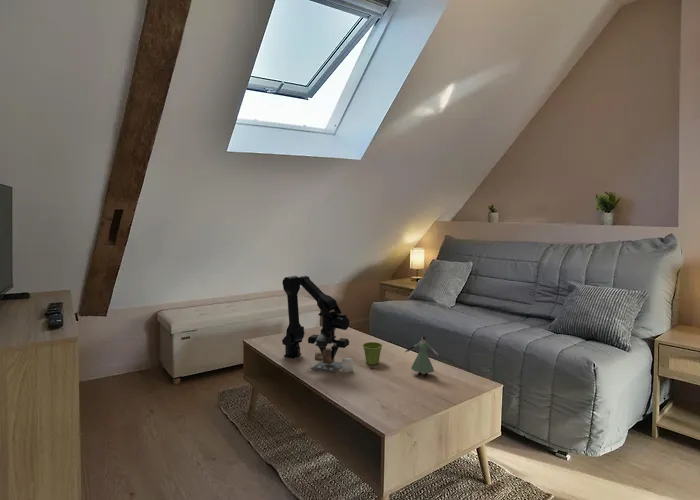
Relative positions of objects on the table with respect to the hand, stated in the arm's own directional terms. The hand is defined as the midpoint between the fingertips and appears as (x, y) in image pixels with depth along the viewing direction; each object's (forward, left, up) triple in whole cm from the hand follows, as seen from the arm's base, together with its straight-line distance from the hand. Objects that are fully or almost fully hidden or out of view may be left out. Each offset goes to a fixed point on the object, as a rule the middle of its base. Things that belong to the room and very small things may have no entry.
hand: (328, 359), depth 214 cm
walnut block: (0, 0, -2) cm, 2 cm away
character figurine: (+42, +7, -4) cm, 42 cm away
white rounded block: (+10, -2, -4) cm, 11 cm away
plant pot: (+17, +12, -4) cm, 22 cm away
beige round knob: (-9, +8, -4) cm, 13 cm away
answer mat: (0, 0, -4) cm, 4 cm away
